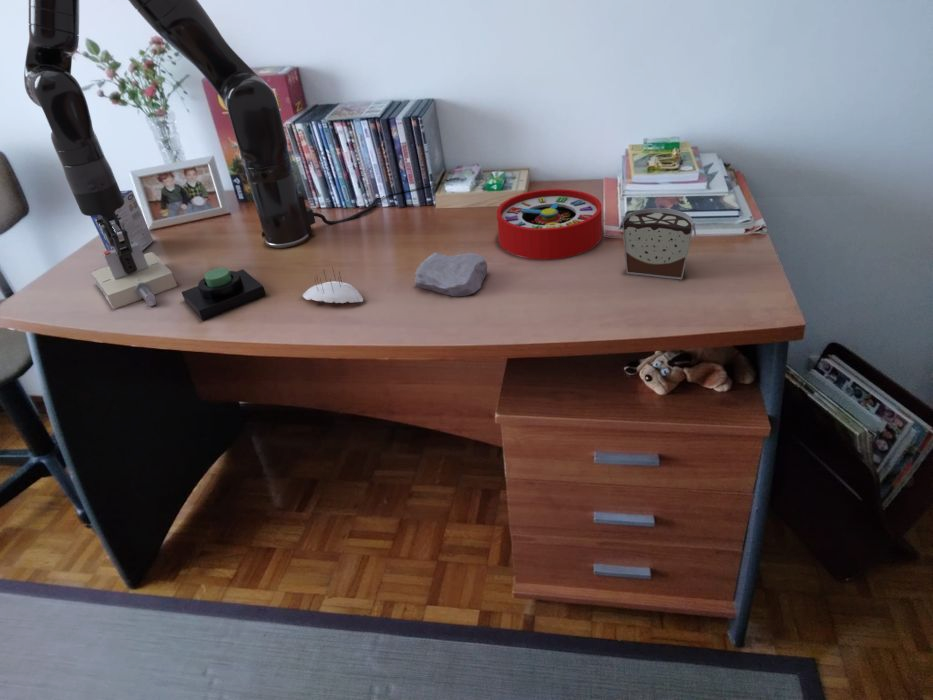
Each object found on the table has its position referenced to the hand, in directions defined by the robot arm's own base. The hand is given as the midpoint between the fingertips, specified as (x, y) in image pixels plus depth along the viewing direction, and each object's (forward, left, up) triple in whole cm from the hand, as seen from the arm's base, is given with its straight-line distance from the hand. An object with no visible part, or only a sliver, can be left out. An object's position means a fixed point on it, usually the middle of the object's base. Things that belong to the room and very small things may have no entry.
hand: (129, 269), depth 131 cm
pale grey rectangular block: (0, 0, 0) cm, 0 cm away
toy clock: (-68, +46, -4) cm, 82 cm away
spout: (0, +10, -3) cm, 10 cm away
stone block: (-43, +47, -4) cm, 64 cm away
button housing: (-11, +20, -4) cm, 23 cm away
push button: (-11, +20, 0) cm, 23 cm away
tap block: (0, 0, -4) cm, 4 cm away
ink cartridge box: (-4, -19, -4) cm, 20 cm away
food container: (-71, +70, -4) cm, 100 cm away
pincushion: (-25, +36, -4) cm, 44 cm away
